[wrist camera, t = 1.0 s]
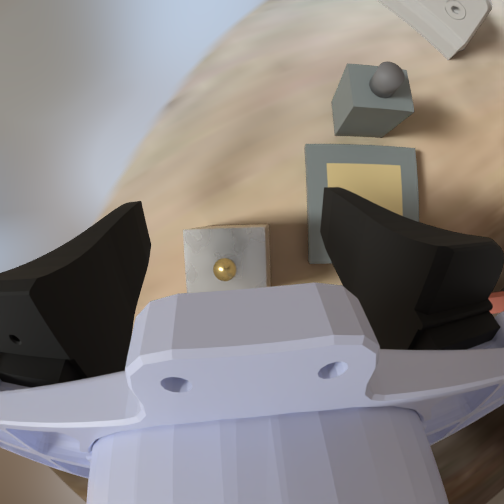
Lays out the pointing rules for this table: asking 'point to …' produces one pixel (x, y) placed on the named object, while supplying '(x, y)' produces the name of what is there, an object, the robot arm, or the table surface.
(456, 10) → the white arched thin slab
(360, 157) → the press
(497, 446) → the table surface
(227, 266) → the block
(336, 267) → the robot arm
